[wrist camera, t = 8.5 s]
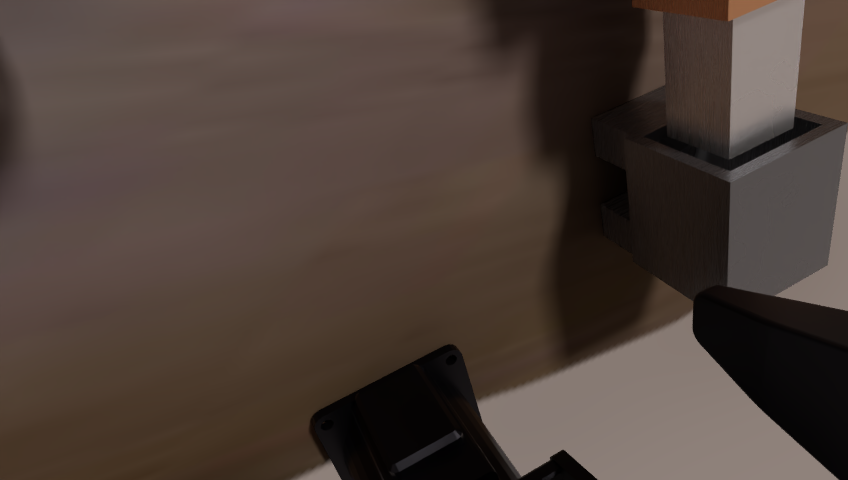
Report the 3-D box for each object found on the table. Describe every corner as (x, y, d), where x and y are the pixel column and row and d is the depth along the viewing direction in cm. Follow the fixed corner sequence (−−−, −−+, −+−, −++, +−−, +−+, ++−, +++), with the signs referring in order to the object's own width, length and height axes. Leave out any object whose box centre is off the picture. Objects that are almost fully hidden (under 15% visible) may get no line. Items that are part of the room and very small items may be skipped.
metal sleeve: (683, 195, 27) (827, 265, 21) (598, 238, 26) (726, 322, 20) (680, 78, 24) (847, 123, 18) (584, 121, 23) (730, 182, 17)
